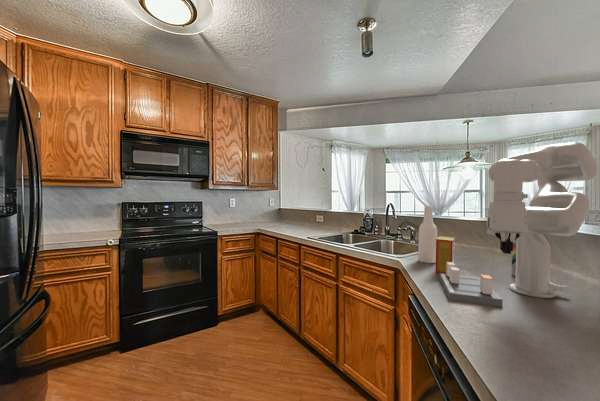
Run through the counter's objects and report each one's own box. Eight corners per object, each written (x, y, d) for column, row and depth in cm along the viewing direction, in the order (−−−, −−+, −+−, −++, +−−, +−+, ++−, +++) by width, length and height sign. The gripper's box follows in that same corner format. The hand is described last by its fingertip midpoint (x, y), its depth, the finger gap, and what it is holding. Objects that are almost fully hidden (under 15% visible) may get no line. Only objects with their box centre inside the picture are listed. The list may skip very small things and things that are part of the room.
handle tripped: (488, 290, 91) (488, 275, 91) (492, 294, 87) (492, 278, 87) (480, 289, 92) (480, 274, 91) (483, 293, 88) (483, 277, 88)
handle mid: (457, 280, 101) (457, 267, 101) (459, 283, 97) (459, 270, 97) (449, 279, 102) (449, 266, 102) (451, 283, 98) (451, 269, 98)
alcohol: (433, 260, 144) (434, 205, 144) (438, 264, 136) (440, 206, 135) (416, 259, 146) (417, 205, 145) (420, 263, 137) (421, 205, 137)
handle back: (453, 274, 109) (453, 262, 108) (455, 277, 105) (455, 265, 105) (446, 273, 109) (446, 261, 109) (447, 276, 106) (448, 264, 106)
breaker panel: (480, 283, 107) (481, 277, 107) (502, 307, 84) (502, 299, 84) (439, 278, 112) (439, 272, 112) (449, 300, 90) (449, 292, 90)
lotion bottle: (521, 274, 119) (523, 230, 119) (531, 278, 114) (532, 232, 113) (508, 273, 120) (509, 230, 120) (517, 277, 114) (518, 232, 114)
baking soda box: (451, 275, 117) (452, 239, 117) (435, 272, 121) (436, 238, 121) (454, 270, 125) (455, 237, 124) (439, 268, 129) (439, 235, 128)
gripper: (530, 197, 87) (529, 252, 88) (477, 197, 93) (476, 249, 94) (541, 198, 80) (540, 257, 81) (483, 197, 86) (482, 253, 87)
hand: (506, 252), depth 87 cm, fingers closed
